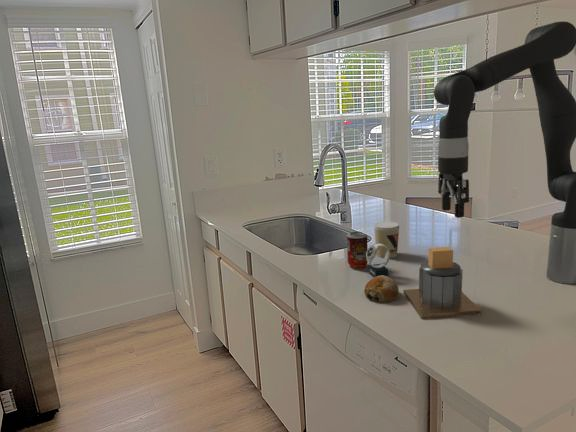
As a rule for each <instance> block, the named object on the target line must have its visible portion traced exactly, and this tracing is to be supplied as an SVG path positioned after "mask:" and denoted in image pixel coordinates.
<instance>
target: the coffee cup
mask: <svg viewBox="0 0 576 432" xmlns="http://www.w3.org/2000/svg"><path fill="white" fill-rule="evenodd" d="M373 229H374V244H378V243H379V244H383V245H385V246H386V247H387V248H388V249H389V250H390V255H391V256H390V259H393V258H396V257H397V256H398V248H399V247H398V246H399V234H400V225H399V223H398V222H395V221H378V222H376V223H374V226H373ZM386 252H387V250H386V248H385V247H383V246H380V247H379V248H378V250H377V254H376V257H379V258H382V259H384V258H385V255H386Z"/></svg>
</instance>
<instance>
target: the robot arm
mask: <svg viewBox="0 0 576 432" xmlns="http://www.w3.org/2000/svg"><path fill="white" fill-rule="evenodd" d="M575 47H576V26H575V25H574V24H572V23H571V22H569V21H555V22H551V23H548V24H545V25H541V26H538V27H537V26H536V27H535V28H533V29H530V31H529V32H528V34H526V37H525V39H524V43H523V44H522V45H519V46H517V47H513V48H512V49H508V50H505V51H502V52H500V53H498V54H497V53H496V55H495V54H494V55H493V56H491V57H488V58H485V59H484V60H482V61H480V62H477V64H474V65H473V66H470V67H469V68H465V69H463V70H461V71H458V72H455V73H452V74H450V75H447V76H446V77H443V78H442V79H440V80H439V81H437V83H436V85H435V86H434V90H433V97H434V99H435V101H436V102H437V103H439V104H440V105H443V106H448V108H447V113H446V114H445V115H443V116H441V117H440V119H439V123H438V126H439V127H438V128H439V129H438V130H439V136H438V137H439V138H438V139H439V140H438V148H437V151H438V153H437V155H438V156H437V157H438V158H437V159H438V160H437V165H438V166H437V168H438V169H437V170H438V183H437V184H438V186H437V187H438V191H437V192H438V195H439V194H440V197H441V210H442V211H450V210H451V209H452V206H451V205H452V202H451V201H452V199H451V197H452V198H453V200H454V217H455V218H456V219H458V218H464V216H465V204H466V203H467V204H468V203H469V202H470V183H469V182H470V181H469V179H464V177H463V175H464V174H466V173H468V171H469V151H470V150H469V138H468V137H469V134H468V133H469V132H468V131H469V124H468V123H469V117H470V115H471V112H472V108H473V103H474V100H475V97H476V96H475V95H476V93H479V92H482V91H486V90H488V89H490V88H492V87H494V86H496V85H498V84H500V83H502V82H504V81H505V80H508V79H510V78H512V77H513V76H516V75H518V74H519V73H522V72H524V71H526V70H528V69H529V72H530V76H531V78H532V79H531V80H532V83H533V88H534V93H535V97H536V101H537V102H536V103H537V107H538V116H539V122H540V128H541V134H542V137H543V144H544V151H545V152H544V153H545V159H546V178H547V187H548V192H549V195H551V197H552V198H553V199H555V200H556V201H560V202H564V203H565V204H564V205H565V206H564V210H563V211H562V212H561V211H560V212H555V213H553V214H552V216H551V222H550V223H551V224H550V233H549V242H548V243H549V245H548V252H547V265H546V278H547V279H549V280H550V281H553V282H557V283H560V284H567V285H568V284H569V285H571V284H572V285H573V284H576V171H573V166H572V163H571V162H572V161H571V150H572V146H573V145H574V143H575V141H576V99H575V97H574V96H573V94H572V93H571V92H570V90H569V89H568V88H567V87H566V85H565V84H564V83H563V81H562V80H561V79H560V77H559V75H558V72H557V69H556V65H555V63H556V62H555V60H558V59H561V58H563V57H566V56H567V55H569V54H570V53H572V51H573V50H574V48H575Z"/></svg>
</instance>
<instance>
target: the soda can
mask: <svg viewBox="0 0 576 432" xmlns="http://www.w3.org/2000/svg"><path fill="white" fill-rule="evenodd" d="M346 236H347V237H346V240H347V241H346V245H347V249H346V250H347V264H348V265H349V268H351V269H354V270H362V269H365V268H367V267H366V266H367V264H368V262H367V259H366V252H367V250H368V235H367V233H365V232H363V231H352V232H349V233H348V234H347V235H346Z"/></svg>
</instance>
